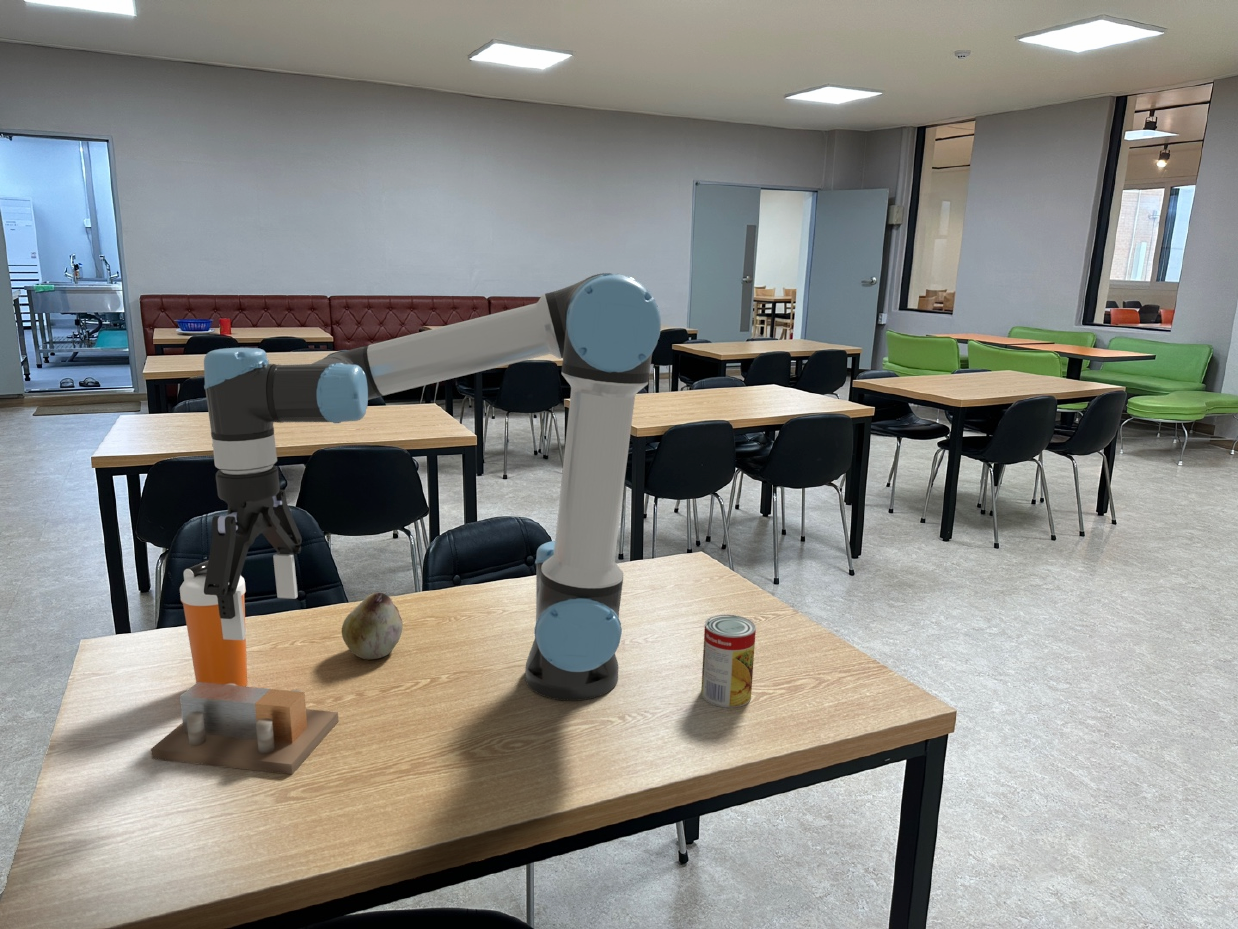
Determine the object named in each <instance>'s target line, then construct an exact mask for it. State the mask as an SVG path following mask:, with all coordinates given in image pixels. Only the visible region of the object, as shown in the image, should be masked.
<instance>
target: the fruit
mask: <svg viewBox="0 0 1238 929" xmlns="http://www.w3.org/2000/svg"><path fill="white" fill-rule="evenodd" d="M403 623H404V622H403V619H402V617H401V615H400V610H399V608H398V607H397V606H396V605H395V604H394V602H393V600H392V598H391V597H390V596H389V595H387V594H386V593H384V592H374V593H371V594H369V595H368V596H366V597H365V598H364V599H362V601H361V602H360V603H359V604H358V605H357V606H356V607H355V608H354V609H353V610H351V611H350V612H349V613H348V614H347V616H346V617H345V619H344V620H343V623H342V626H341V637H342V639H343V641H344V643H345V645H346V647H347V648H348V650H350V652H351V653H352V654H354V655H355V656H356V657H358V658H361V659H363V660H376V659H381V658H383V657H386V656H387V655H389V654H390V653H392V651H393V650H394V648H395V647H396V645H397V644H398V643H399V641H400V639H401V636H402V633H403V625H404V624H403Z"/></svg>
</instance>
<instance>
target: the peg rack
mask: <svg viewBox="0 0 1238 929" xmlns="http://www.w3.org/2000/svg"><path fill="white" fill-rule="evenodd" d="M226 685H235V686H237V685H236V684H234V683H230V684H226ZM291 691H297V692H303V691H302V690H301V689H291ZM186 718H187V727H188V732H184V729H183V722H181V723H179V725H178V726H177V727H176V728H174V729H173V730H172V731H170V732H169V733H168V734H167V735H166V736H165V737H164V738H163V737H162V739H161V740H160V741H158V742H157V743H156V744H155V745H154V746H153V747H151V748H150V752H151V753H150V755H151V759H152V760H158V761H167V762H168V761H169V762H177V763H187V764H193V765H194V764H195V765H196V764H197V765H202V766H203V765H204V766H205V765H206V766H212V767H213V766H214V767H223V768H232V769H240V770H249V771H258V772H268V773H276V774H286V775H293V774H294V773H296V771H297V769H299V767H300V766H301V765H302V764H303V763H305V760H306V759H307V758H309V756H310V755H311V753H313V751H315V749H316V748H317V747H318V746H319V745H320V743H321V742H322V741H323V740H324V739H325V737H326V736H327V735H328V734H329V733H330V732H331V730H333V729H334V727H335V726H336V725H337V724H338V723H339V713H338V711H330V710H321V709H320V710H318V709H310V708H306V718H307V728H306V729H305V731H304V732H303V733H302V734H301V735H300V736H299V737H298V738H297V739H296V740H295V741H294V742H293V744H292V743H283V742H274V734H273V723H272V720H271V719H268V718H266V719H261V720H259V721H258V722H257V723H256V729H257V740H255V739H245V738H236V737H226V736H217V735H207V734H205V728H204V718H203V713H202V712H199V711H197V712H192V713H190V714H188V715H187V716H186Z"/></svg>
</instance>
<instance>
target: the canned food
mask: <svg viewBox="0 0 1238 929" xmlns="http://www.w3.org/2000/svg"><path fill="white" fill-rule="evenodd" d="M756 630H757V627H756V624H755V623H754V622H753V621H752V620H751V619H749V618H747V617H743V616H740V615H735V614H716V615H713V616H710V617H709V618H707V619H706V620H705V622H704V632H703V650H702V653H703V654H702V668H701V669H702V671H701V690H700V695H701V697H702V698H703V699H704V701H706V702H707V703H709V704H711V705H714V706H717V707H721V708H727V709H730V708H731V709H732V708H740V707H742V706H743V707H744V706H746V705H747V704H748V703H750V701H751V699H752V690H753V689H752V687H753V676H754V660H755V647H756V646H755V644H756Z"/></svg>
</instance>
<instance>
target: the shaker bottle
mask: <svg viewBox="0 0 1238 929" xmlns="http://www.w3.org/2000/svg"><path fill="white" fill-rule="evenodd" d="M207 567H208V560H205V561H203V562H200V563H199V564H195V565H194V566H191V567H188V568H186V569H184V570H183V580H184V581H183V582H182V584H181V585H180V587H179V593H180V594H179V595H180V602H181V603H182V604H183V605H182V606H183V611H184V618H185V622H186V623H185V624H186V628H187V636H188V640H189V647H190V653H191V654H190V655H191V660H192V664H193V672H194V677H195V684H196V683H197V682H204V683H215V684H225V685H226V684H230V683H234V684H236V685H237V686H246V687H248V686H247V685H248V663H247V660H248V658H247V637H246V638H245V639H244V640H228V639H223V633H222V625H221V618H220V615H219V607H218V599H217V596H216V595H205V594H204V585H205V579H206V573H207ZM245 580H246V579H245V578H244V577H243V576H242V574H241V575H240V579H239V582H238V586H237V589H236V591H241V597H242V606H243V615H244V624H245V625H246V608H245V607H246V606H245V593H246V592H247V590H246V582H245ZM228 585H229V584H228ZM246 632H247V631H246V629H245V633H246ZM246 634H247V633H246Z"/></svg>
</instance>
